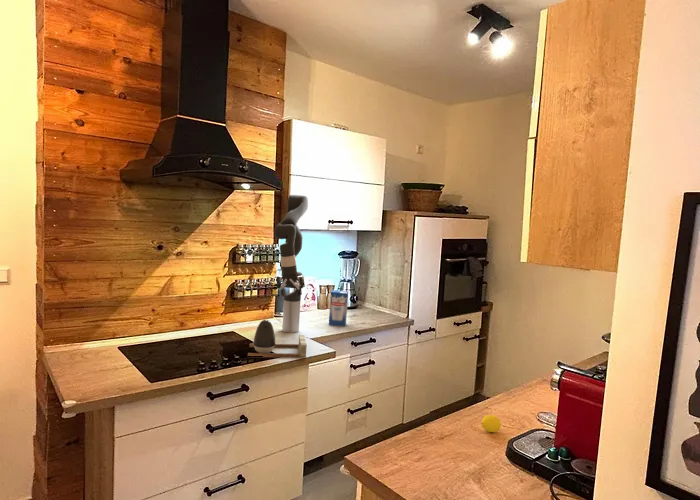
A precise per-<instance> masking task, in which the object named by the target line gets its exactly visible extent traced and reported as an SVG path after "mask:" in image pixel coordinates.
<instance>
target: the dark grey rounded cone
mask: <svg viewBox="0 0 700 500" xmlns="http://www.w3.org/2000/svg"><path fill="white" fill-rule="evenodd" d="M252 344H253V345H254V347H253V348H254V351H256V353H271V352H273V350H274V346H275V344H276V334H275V331H274V326H273V324H272V322H271V321H270V320H269V319H263V320H261V321H260V322H259V323H258V325H257V328H256V331H255V334H254V337H253V342H252Z"/></svg>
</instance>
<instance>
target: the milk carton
mask: <svg viewBox="0 0 700 500" xmlns="http://www.w3.org/2000/svg"><path fill="white" fill-rule="evenodd" d="M348 300H349V291H345V290H333V289H332V290H331V291H330V299H329V313H328V314H329V316H328V325H329V326H339V327H340V326H341V327H345V326H346V325H347V316H348Z"/></svg>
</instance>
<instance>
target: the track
mask: <svg viewBox="0 0 700 500" xmlns="http://www.w3.org/2000/svg"><path fill="white" fill-rule="evenodd" d="M248 348H254V345H253V343H249V347H248ZM274 348H275V349H276V348H277V349H278V348H279V349H280V348H281V349H282V348H283V349H285V348H286V349H289V348H290V349H291V348H292V349H298V352H299V353H297V352H296V353H294V352H293V353H291V352H290V353H288V352H287V353H286V352H285V353H284V352H282V353H281V352H275V353H274V352H272V353H271V352H269V353H259V352H248V353H247V357H248V356H263V357H262V358H302V359H303V358H307V341H306V337H305V335H304V334H302V335H301V334H300V335H298V343H275V346H274Z"/></svg>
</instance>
